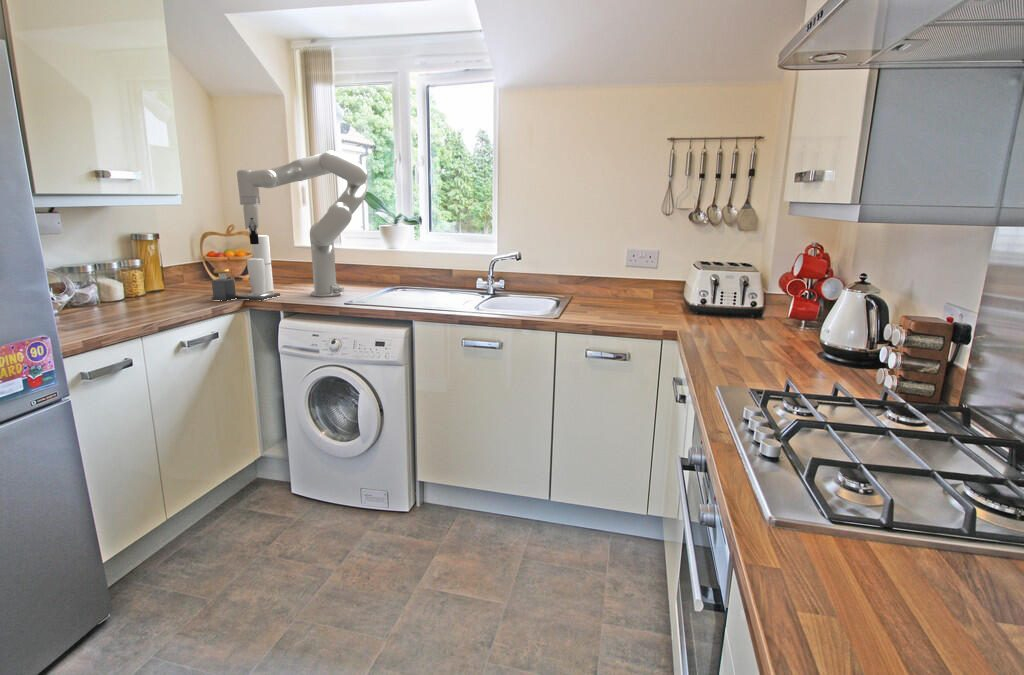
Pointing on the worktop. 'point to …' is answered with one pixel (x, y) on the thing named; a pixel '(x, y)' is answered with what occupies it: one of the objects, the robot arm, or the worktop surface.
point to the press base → (227, 291)
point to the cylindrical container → (264, 252)
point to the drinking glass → (256, 275)
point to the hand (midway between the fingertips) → (254, 243)
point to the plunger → (222, 273)
